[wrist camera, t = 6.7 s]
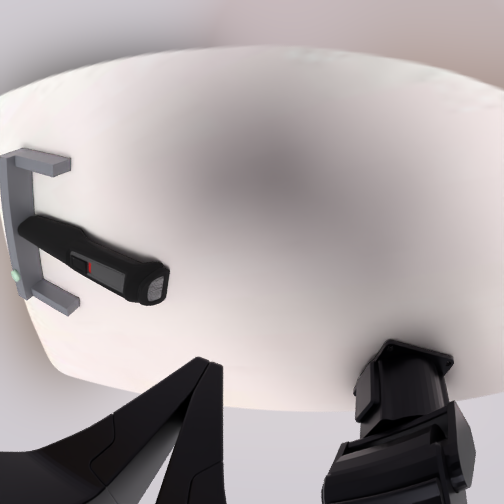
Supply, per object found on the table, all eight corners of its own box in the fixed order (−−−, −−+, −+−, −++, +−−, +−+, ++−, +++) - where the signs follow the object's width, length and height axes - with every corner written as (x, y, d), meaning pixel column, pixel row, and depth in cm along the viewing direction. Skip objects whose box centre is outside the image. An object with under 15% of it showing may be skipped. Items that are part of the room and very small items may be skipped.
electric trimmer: (38, 200, 25) (13, 212, 22) (172, 263, 23) (151, 285, 21) (39, 234, 27) (17, 247, 24) (166, 300, 25) (147, 323, 23)
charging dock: (70, 158, 21) (39, 169, 18) (79, 305, 29) (59, 324, 26) (22, 147, 22) (-6, 157, 19) (36, 281, 30) (16, 297, 27)
